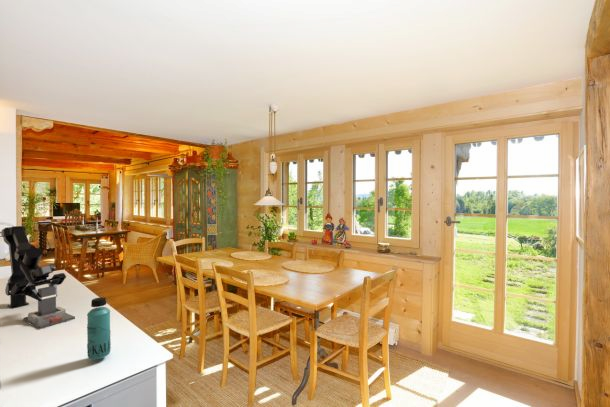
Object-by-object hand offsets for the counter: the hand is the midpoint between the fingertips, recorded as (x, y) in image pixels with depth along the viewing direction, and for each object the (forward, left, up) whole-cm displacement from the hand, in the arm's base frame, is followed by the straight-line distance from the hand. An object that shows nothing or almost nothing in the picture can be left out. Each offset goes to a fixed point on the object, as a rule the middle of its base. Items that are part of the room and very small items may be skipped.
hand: (48, 298), depth 135 cm
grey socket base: (+1, 0, -9) cm, 9 cm away
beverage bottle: (+56, -6, -9) cm, 57 cm away
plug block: (-1, 0, -7) cm, 7 cm away
